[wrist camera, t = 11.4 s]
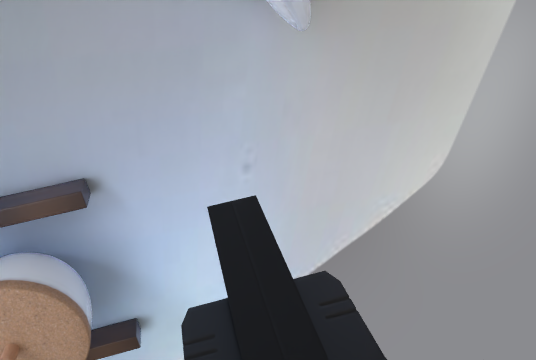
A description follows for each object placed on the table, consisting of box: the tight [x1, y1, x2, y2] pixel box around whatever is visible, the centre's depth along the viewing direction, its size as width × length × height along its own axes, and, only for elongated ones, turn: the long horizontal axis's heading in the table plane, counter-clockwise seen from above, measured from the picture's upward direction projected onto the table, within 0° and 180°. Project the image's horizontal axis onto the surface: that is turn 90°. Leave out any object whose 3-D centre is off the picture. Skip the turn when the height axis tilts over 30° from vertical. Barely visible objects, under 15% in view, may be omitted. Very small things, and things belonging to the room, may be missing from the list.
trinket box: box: [0, 252, 92, 360], centre depth 36 cm, size 11×11×9 cm
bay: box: [0, 179, 141, 360], centre depth 39 cm, size 15×17×2 cm
